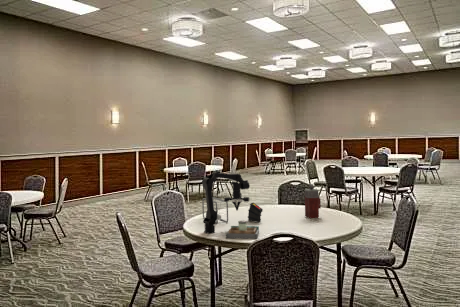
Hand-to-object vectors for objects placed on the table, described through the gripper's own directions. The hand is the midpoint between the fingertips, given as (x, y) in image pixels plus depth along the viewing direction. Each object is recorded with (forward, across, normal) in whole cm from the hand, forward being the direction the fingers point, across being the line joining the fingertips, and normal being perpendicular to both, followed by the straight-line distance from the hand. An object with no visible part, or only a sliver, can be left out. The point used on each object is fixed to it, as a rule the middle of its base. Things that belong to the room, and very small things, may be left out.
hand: (237, 210), depth 304 cm
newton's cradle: (+13, +24, -25) cm, 37 cm away
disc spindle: (+12, -8, +26) cm, 30 cm away
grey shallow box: (+13, -8, +26) cm, 30 cm away
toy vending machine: (+13, -57, -45) cm, 74 cm away
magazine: (+13, -10, -23) cm, 29 cm away
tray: (+13, -8, +23) cm, 28 cm away
